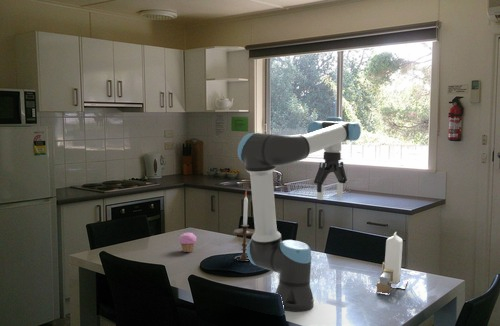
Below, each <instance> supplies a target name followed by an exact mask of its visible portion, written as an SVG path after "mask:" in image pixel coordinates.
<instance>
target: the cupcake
mask: <svg viewBox="0 0 500 326" xmlns="http://www.w3.org/2000/svg"><path fill="white" fill-rule="evenodd" d="M178 242H179V243H180V245H181V250H182V251H183V253H186V252H187V253H191V252H193V250H194V247H195V245H194V244H195V243H196V242H197V236H196V235H195V234H194V233H193V232H184V233H182V234H180V236H179V237H178Z"/></svg>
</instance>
